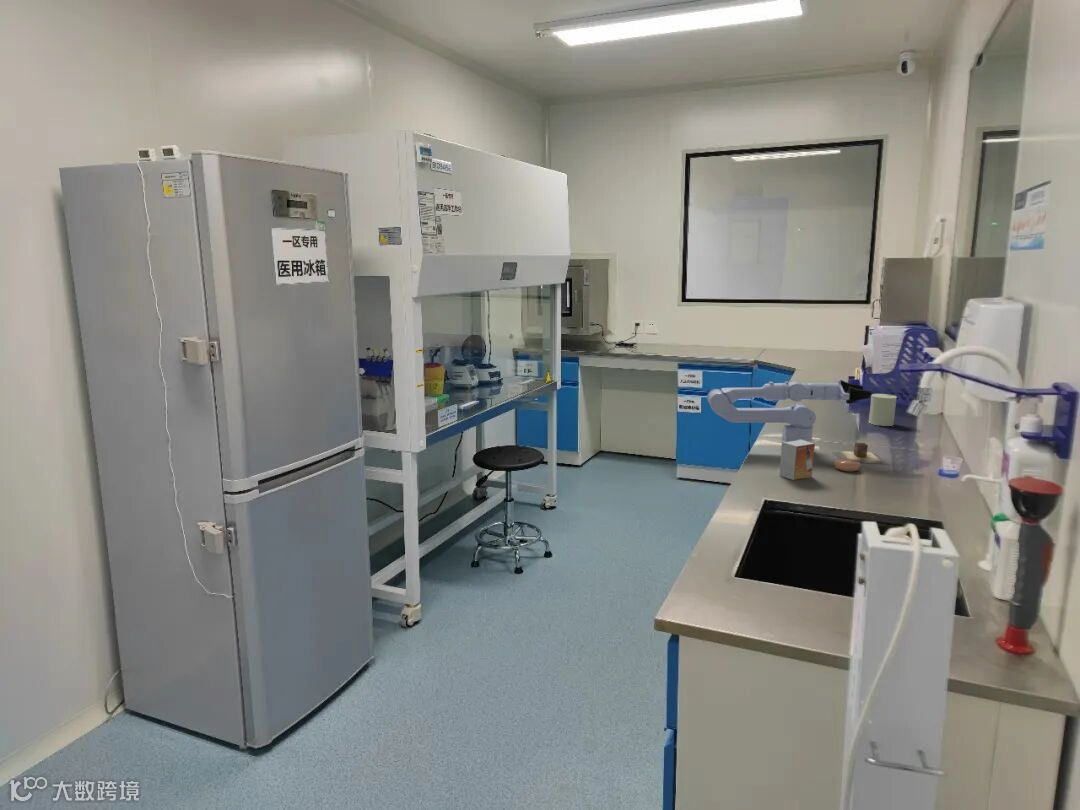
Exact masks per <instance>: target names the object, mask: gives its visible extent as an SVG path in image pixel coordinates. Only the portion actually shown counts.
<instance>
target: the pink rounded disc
mask: <svg viewBox="0 0 1080 810" xmlns="http://www.w3.org/2000/svg"><path fill="white" fill-rule="evenodd" d="M860 465H861V463H860V462H859V461H856V460H853V459H847V458H836V459H834V468H835V469H837V470H839V471H842V472H851V473H853V472H855V471H856V472H857V471H859V470H860Z"/></svg>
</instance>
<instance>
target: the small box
mask: <svg viewBox="0 0 1080 810" xmlns="http://www.w3.org/2000/svg"><path fill="white" fill-rule="evenodd" d="M781 444H782V448H781V452H780V453H781V454H780V455H781V456H780V462H779V463H780V464H779V476H780V477H783V478H786V479H787V480H792V481H796V480H801V479H808V478H812V477H813V466H814V459H815V458H814V457H815V447H816V444H815V443H814V442H812V443H811V442H808V441H804V440H796V441H790V442H782V441H781Z"/></svg>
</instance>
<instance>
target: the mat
mask: <svg viewBox="0 0 1080 810" xmlns="http://www.w3.org/2000/svg"><path fill="white" fill-rule="evenodd" d="M831 453H832V454H833V455H835V457H836V459H839V458H844V457H843V456H842V455H840V454H839V452H834V451H833V452H831ZM873 454H874V455H875V456H876V457H877V458H879V459H880V460H881V461H882V463H862V462H860V465H861V464H865V465H889V466H890V464H889V463H888V462H887V461H885V460H884V459H883V458H882V457H880V456H879V455H878V454H877V453H873Z"/></svg>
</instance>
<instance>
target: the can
mask: <svg viewBox="0 0 1080 810" xmlns="http://www.w3.org/2000/svg"><path fill="white" fill-rule="evenodd" d="M897 398H898V396H896V395H893V394H887V393H872V394H870V407H869V415H868V422H869V423H871V424H874V425H882V426H892V425H894V424H895V415H896V413H895V412H896V404H897ZM869 423H868V424H869ZM874 425H873V426H874ZM894 426H895V425H894ZM892 427H893V426H892Z"/></svg>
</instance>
